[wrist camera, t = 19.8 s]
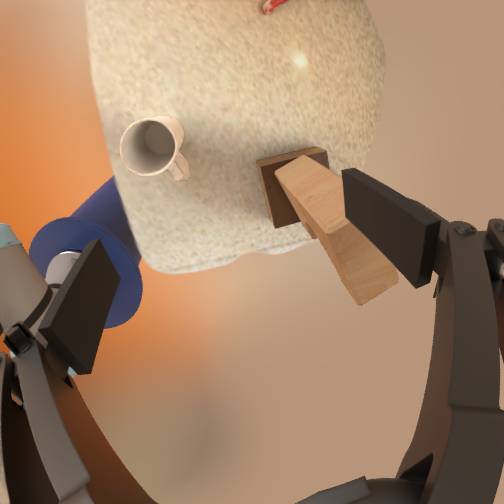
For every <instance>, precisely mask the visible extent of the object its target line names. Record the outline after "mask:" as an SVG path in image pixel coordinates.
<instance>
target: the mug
mask: <svg viewBox="0 0 504 504" xmlns="http://www.w3.org/2000/svg"><path fill="white" fill-rule="evenodd" d="M183 139H184V131H183V128H182V126H181V124H180V123H179V122H178V121H177V120H176V119H174V118H172V117H168V116H160V117H153V118H146V119H142V120H139V121H136V122H134V123H133V124H131V125H130V126H129V127H128V128H127V129H126V131H125V132H124V134H123V136H122V138H121V141H120V156H121V159H122V161H123V163H124V164H125V166H126V167H127V168H128V169H129V170H130V171H131V172H133V173H135V174H137V175H140V176H145V177H150V176H156V175H159V174H161V173H163V172H164V171H166V170H167V171H169V172H170V173H171V174H172V176H173V177H174V179H175V180H176V181H186V180H188V179H189V178H190V170H189V167H188V163H187V161H186V159H185V158H184V157H183V156H182V155H181V153H180V152H179V149H180V147H181V145H182V142H183ZM175 162H176V163H177V165H178V166H179V168H180V169H181V170H180V169H179V168H178V167H177V165H176V164H175Z"/></svg>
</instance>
